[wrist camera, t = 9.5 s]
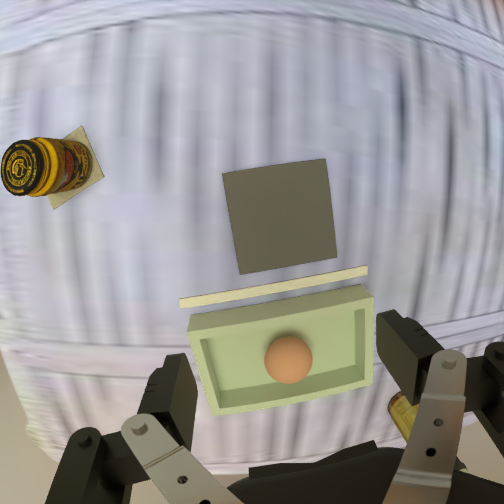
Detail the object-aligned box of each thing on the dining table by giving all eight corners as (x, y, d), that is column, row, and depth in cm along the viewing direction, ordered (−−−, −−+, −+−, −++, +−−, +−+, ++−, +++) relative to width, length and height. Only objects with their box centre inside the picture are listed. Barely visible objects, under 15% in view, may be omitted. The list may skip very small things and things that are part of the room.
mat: (324, 158, 36) (325, 158, 36) (336, 256, 39) (337, 257, 39) (222, 173, 36) (222, 173, 36) (239, 273, 39) (240, 274, 39)
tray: (360, 284, 40) (373, 296, 36) (361, 366, 44) (372, 383, 40) (191, 315, 40) (186, 331, 36) (213, 395, 43) (212, 416, 39)
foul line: (366, 265, 40) (367, 265, 40) (366, 273, 40) (367, 274, 40) (178, 298, 39) (178, 299, 39) (181, 307, 40) (180, 308, 39)
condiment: (104, 176, 35) (55, 181, 23) (54, 209, 35) (-2, 226, 24) (82, 125, 33) (29, 113, 22) (34, 161, 34) (-25, 163, 22)
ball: (305, 324, 41) (316, 348, 35) (308, 361, 42) (318, 387, 36) (259, 332, 40) (263, 358, 35) (265, 369, 42) (270, 397, 36)
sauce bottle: (415, 406, 48) (467, 481, 28) (385, 418, 48) (431, 500, 28) (418, 380, 46) (479, 457, 27) (386, 392, 46) (441, 478, 27)
